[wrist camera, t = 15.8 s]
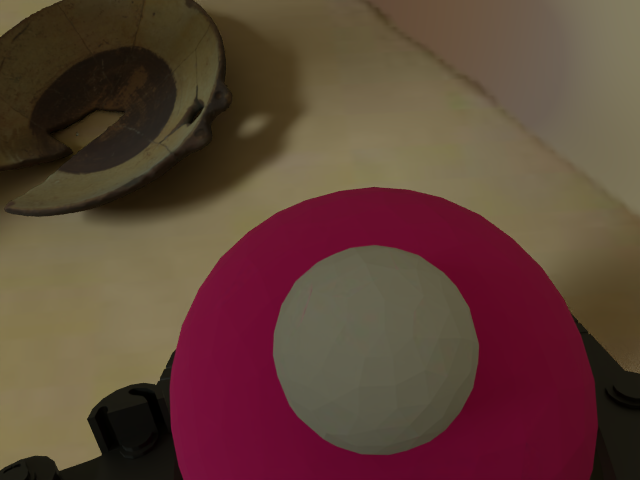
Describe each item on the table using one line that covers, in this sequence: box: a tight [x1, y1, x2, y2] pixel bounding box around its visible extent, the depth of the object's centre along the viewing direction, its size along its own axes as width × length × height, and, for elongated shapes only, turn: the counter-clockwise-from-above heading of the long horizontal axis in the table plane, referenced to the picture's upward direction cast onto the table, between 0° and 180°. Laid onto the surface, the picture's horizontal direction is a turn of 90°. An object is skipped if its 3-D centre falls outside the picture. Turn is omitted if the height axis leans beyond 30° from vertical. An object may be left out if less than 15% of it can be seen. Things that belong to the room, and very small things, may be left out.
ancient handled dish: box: [0, 0, 232, 217], centre depth 37 cm, size 22×30×8 cm
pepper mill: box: [170, 187, 598, 480], centre depth 12 cm, size 7×7×20 cm
